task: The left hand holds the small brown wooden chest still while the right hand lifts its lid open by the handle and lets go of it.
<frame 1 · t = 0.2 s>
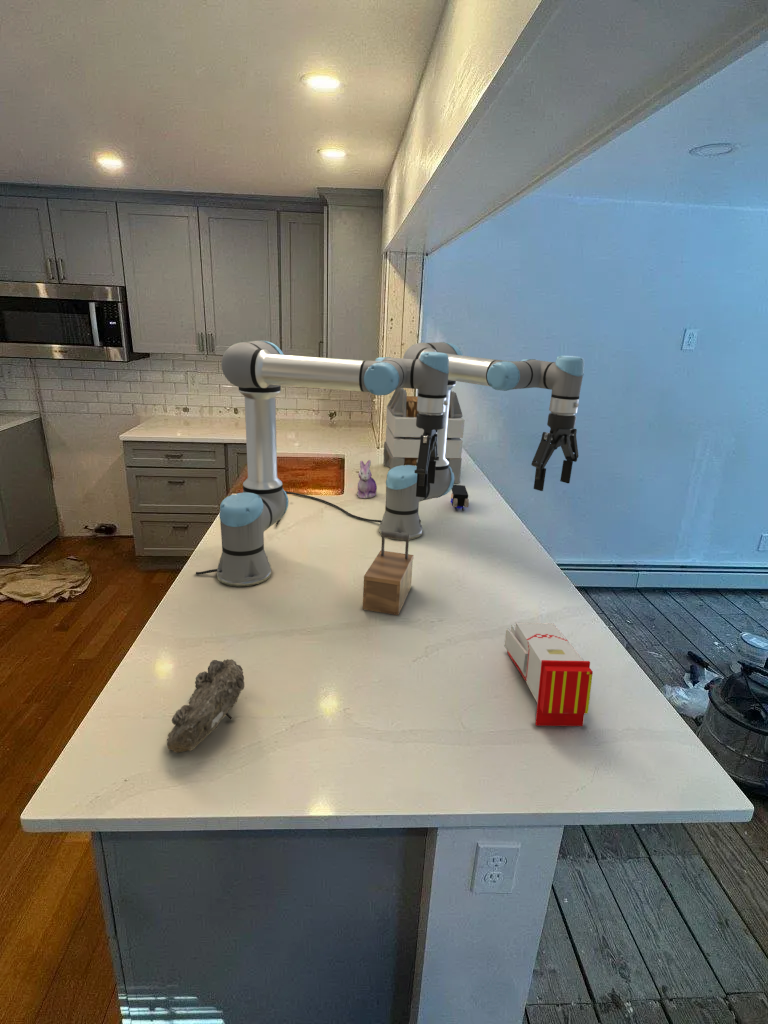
left hand: (425, 489, 157), 28 cm above the counter, tool pointing down, fingers open, 13 cm apart
right hand: (551, 486, 166), 28 cm above the counter, tool pointing down, fingers open, 13 cm apart
lid: (390, 554, 151), point 13 cm above the counter, hinge at 0.0°
toy: (538, 683, 122), on the counter
feather: (283, 515, 213), on the counter
fossil: (212, 717, 108), on the counter
figurine character: (458, 507, 230), on the counter
transformer: (419, 473, 275), on the counter
figurine: (366, 495, 239), on the counter
chest: (387, 597, 156), on the counter
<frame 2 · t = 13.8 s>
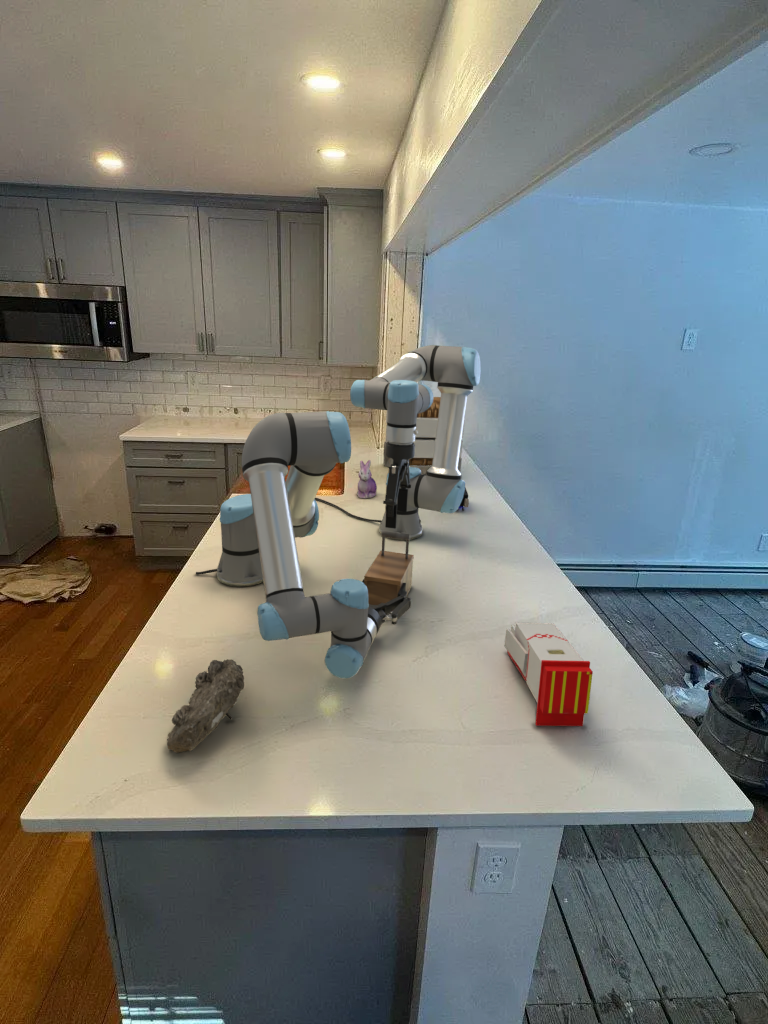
left hand: (385, 584, 149), 6 cm above the counter, tool horizontal, fingers closed on chest, 10 cm apart
right hand: (396, 519, 154), 21 cm above the counter, tool pointing down, fingers open, 13 cm apart
chest: (388, 597, 156), on the counter, touching left hand
everything else where it was.
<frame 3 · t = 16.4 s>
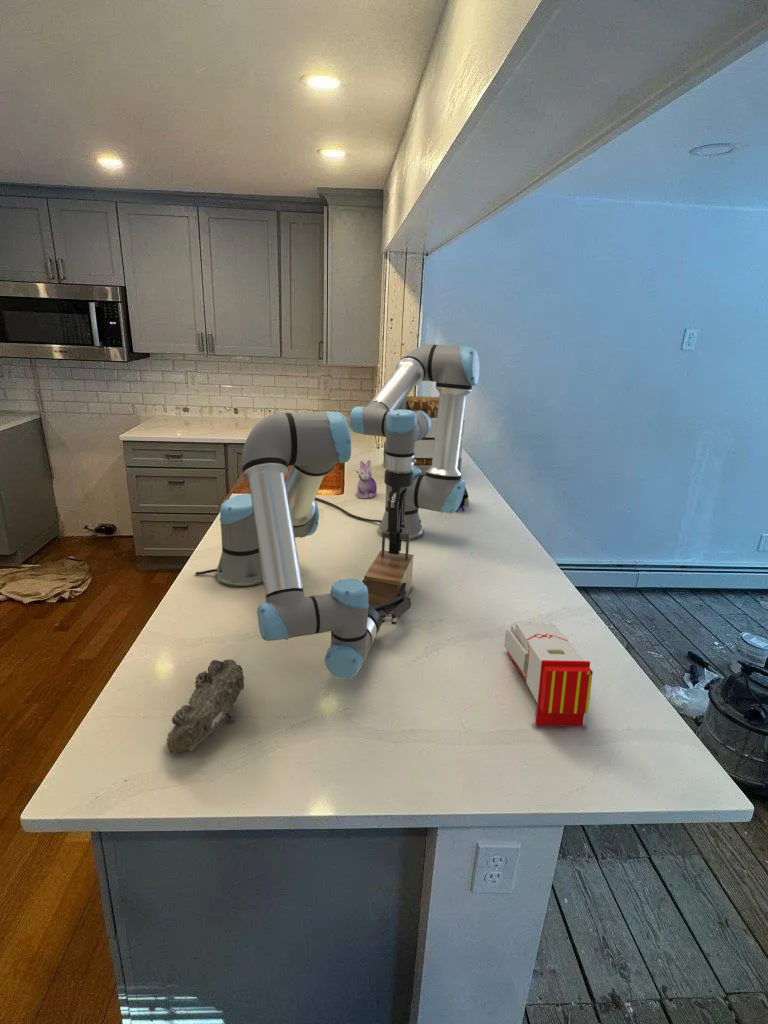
left hand: (385, 584, 149), 6 cm above the counter, tool horizontal, fingers closed on chest, 10 cm apart
right hand: (394, 551, 157), 11 cm above the counter, tool pointing down, fingers closed on lid, 2 cm apart
lid: (390, 554, 151), point 13 cm above the counter, hinge at 0.2°, touching right hand
chest: (388, 597, 156), on the counter, touching left hand
everything else where it was.
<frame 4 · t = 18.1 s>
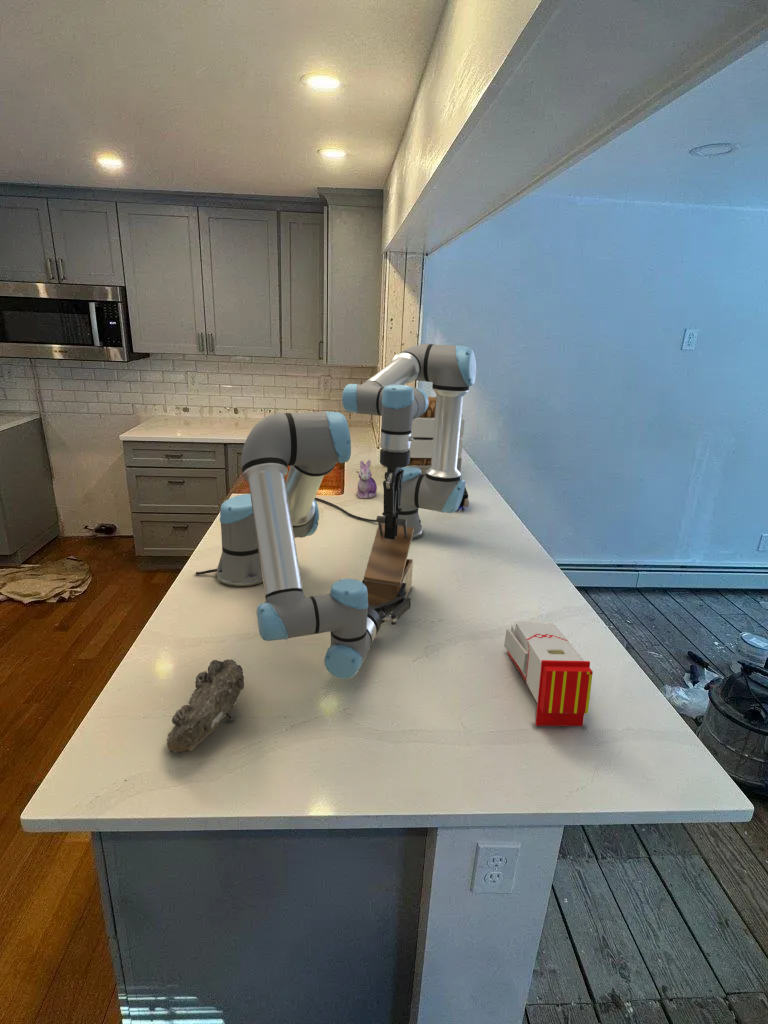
left hand: (384, 584, 149), 6 cm above the counter, tool horizontal, fingers closed on chest, 10 cm apart
right hand: (390, 536, 149), 18 cm above the counter, tool pointing down, fingers closed on lid, 2 cm apart
lid: (388, 545, 147), point 17 cm above the counter, hinge at 33.2°, touching right hand
chest: (388, 597, 155), on the counter, touching left hand
everything else where it was.
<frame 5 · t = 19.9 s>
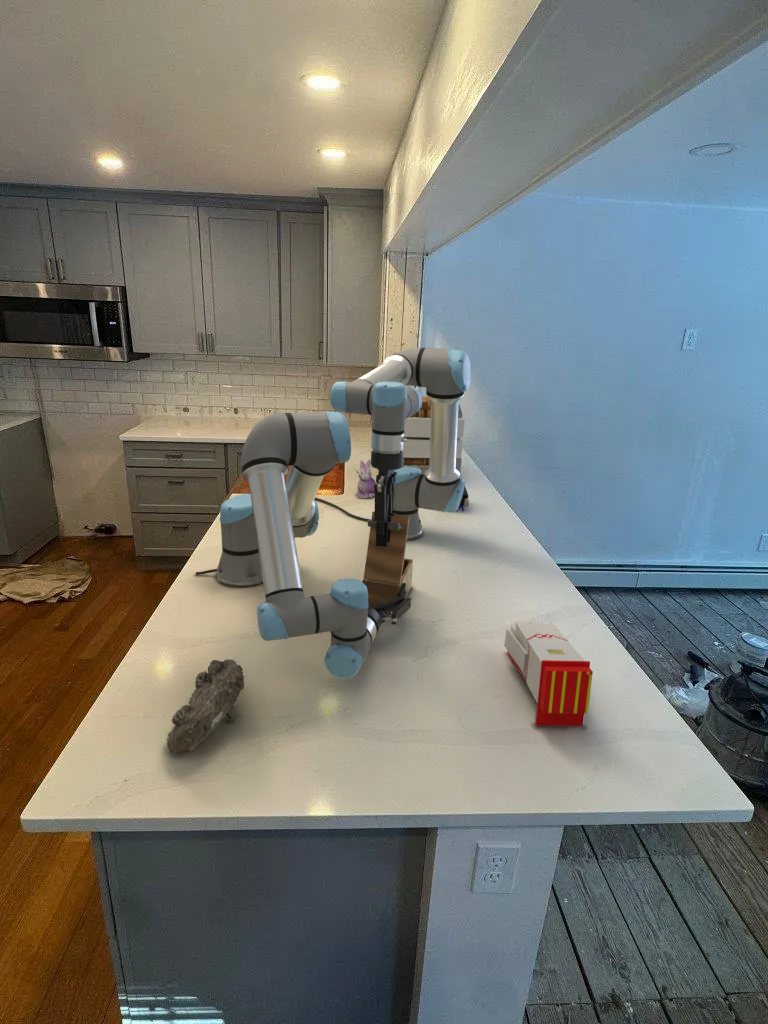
left hand: (384, 584, 149), 6 cm above the counter, tool horizontal, fingers closed on chest, 10 cm apart
right hand: (382, 543, 140), 20 cm above the counter, tool pointing down, fingers open, 2 cm apart
lid: (383, 547, 141), point 19 cm above the counter, hinge at 66.8°
chest: (388, 597, 155), on the counter, touching left hand
everything else where it was.
when the left hand's fingers open (6 cm above the counter, at t = 23.6 s): chest stays where it is, on the counter.
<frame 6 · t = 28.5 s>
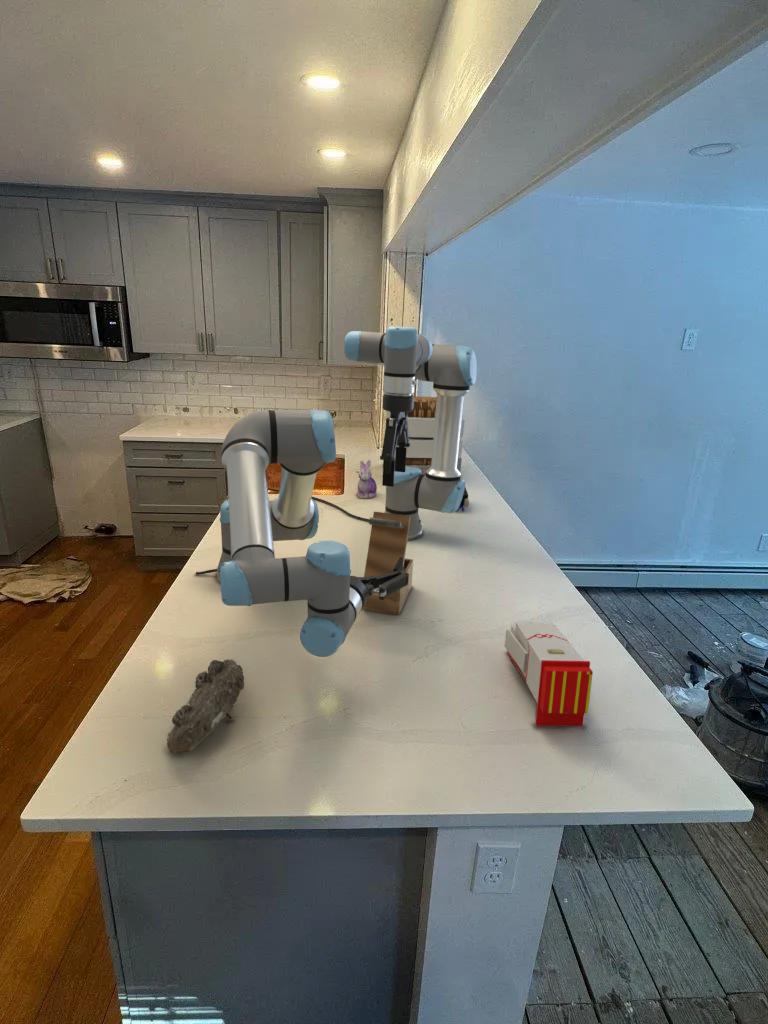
left hand: (372, 558, 131), 20 cm above the counter, tool horizontal, fingers open, 13 cm apart
right hand: (394, 478, 144), 34 cm above the counter, tool pointing down, fingers open, 13 cm apart
lid: (384, 545, 142), point 19 cm above the counter, hinge at 63.2°
chest: (388, 597, 156), on the counter
everything else where it was.
at the end: lid at +63° (first picture: +0°); the left hand is holding nothing; the right hand is holding nothing; chest tilted 0°; chest never tilted more than 1° during the clip; chest moved 0.2 cm from its start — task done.
